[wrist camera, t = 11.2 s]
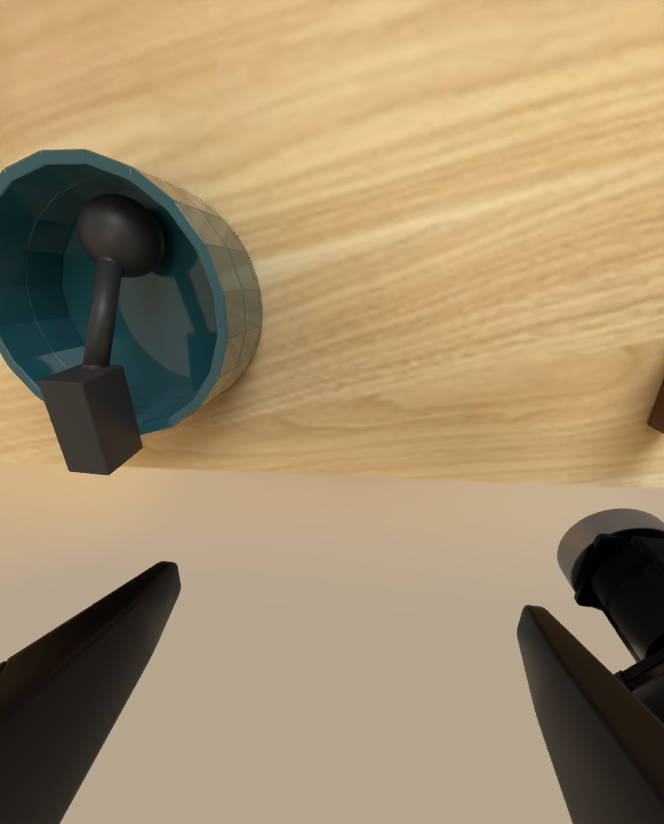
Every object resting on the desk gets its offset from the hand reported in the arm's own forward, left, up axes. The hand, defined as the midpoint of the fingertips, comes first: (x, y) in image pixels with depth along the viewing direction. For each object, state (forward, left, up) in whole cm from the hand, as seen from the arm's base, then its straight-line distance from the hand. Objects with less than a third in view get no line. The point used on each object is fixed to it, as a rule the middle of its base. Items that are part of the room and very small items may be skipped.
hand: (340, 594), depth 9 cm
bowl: (+6, +12, -13) cm, 19 cm away
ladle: (+5, +12, -13) cm, 18 cm away
